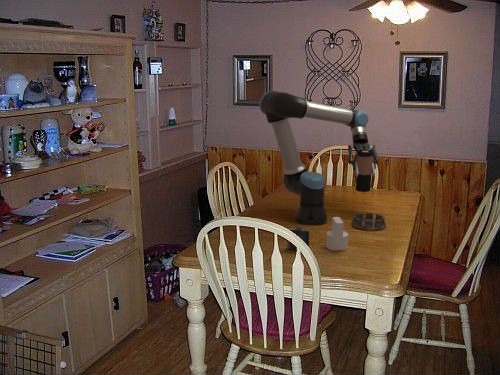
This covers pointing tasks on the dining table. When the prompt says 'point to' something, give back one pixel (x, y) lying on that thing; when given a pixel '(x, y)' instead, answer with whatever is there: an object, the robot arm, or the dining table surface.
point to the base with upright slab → (337, 236)
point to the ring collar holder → (368, 222)
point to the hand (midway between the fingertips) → (365, 175)
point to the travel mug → (364, 170)
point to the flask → (301, 233)
